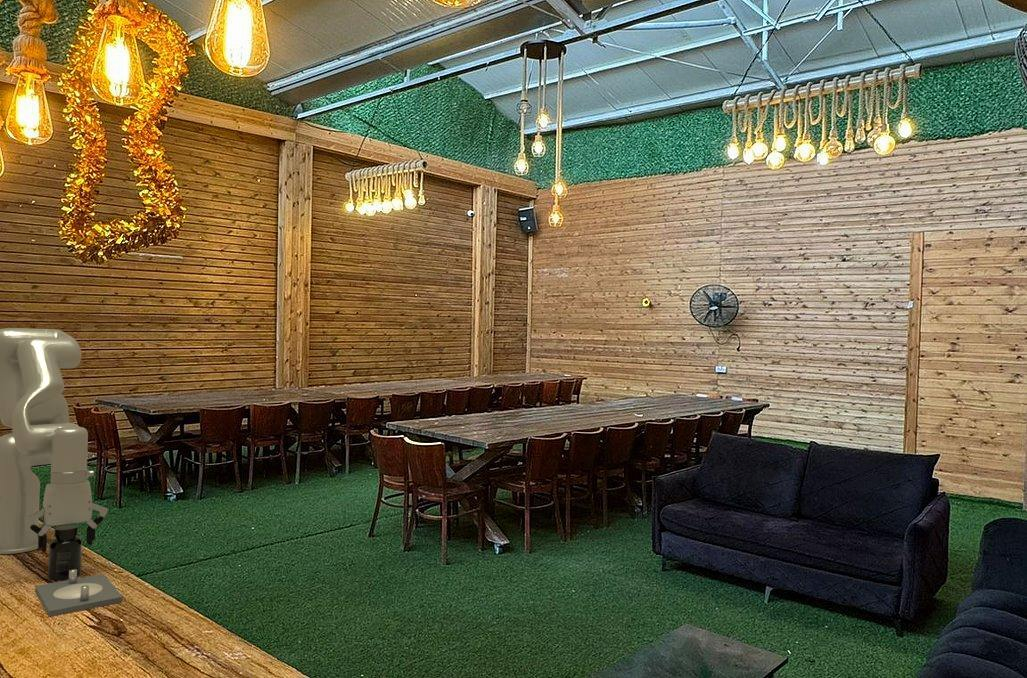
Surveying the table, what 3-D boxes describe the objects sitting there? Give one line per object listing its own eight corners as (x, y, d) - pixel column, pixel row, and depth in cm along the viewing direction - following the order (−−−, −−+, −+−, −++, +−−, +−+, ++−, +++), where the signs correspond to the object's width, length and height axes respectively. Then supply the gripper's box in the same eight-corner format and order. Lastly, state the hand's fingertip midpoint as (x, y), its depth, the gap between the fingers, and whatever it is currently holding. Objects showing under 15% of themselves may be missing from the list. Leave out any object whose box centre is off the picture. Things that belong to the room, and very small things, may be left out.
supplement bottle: (87, 572, 176) (89, 525, 176) (67, 582, 169) (69, 532, 169) (61, 570, 177) (63, 523, 176) (40, 579, 170) (42, 530, 170)
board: (35, 590, 163) (35, 572, 163) (103, 578, 172) (104, 561, 172) (48, 616, 150) (49, 597, 150) (122, 602, 159) (122, 583, 159)
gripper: (105, 471, 181) (103, 538, 181) (23, 479, 169) (21, 550, 169) (112, 476, 175) (110, 544, 175) (28, 484, 164) (26, 557, 164)
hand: (66, 547), depth 172 cm, fingers open, 9 cm apart
